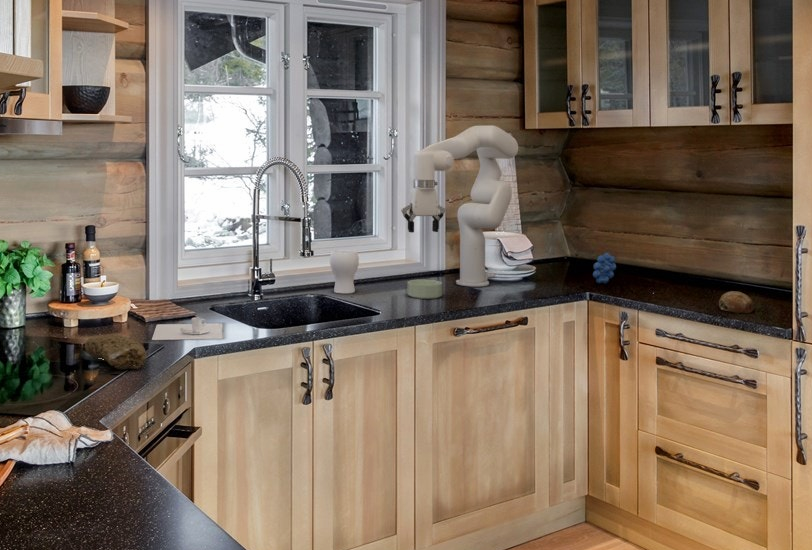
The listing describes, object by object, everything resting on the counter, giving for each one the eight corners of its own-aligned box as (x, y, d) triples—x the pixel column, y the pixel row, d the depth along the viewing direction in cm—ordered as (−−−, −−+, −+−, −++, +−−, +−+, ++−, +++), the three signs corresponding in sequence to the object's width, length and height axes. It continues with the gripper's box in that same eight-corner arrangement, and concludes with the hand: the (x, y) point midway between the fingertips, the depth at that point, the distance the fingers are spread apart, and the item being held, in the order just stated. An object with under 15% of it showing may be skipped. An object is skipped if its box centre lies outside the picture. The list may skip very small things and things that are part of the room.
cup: (358, 289, 316) (358, 249, 316) (358, 294, 306) (358, 253, 306) (330, 289, 317) (330, 249, 317) (329, 294, 307) (329, 253, 307)
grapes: (606, 280, 333) (606, 250, 333) (620, 283, 327) (620, 252, 327) (584, 283, 328) (585, 252, 328) (598, 285, 322) (598, 254, 322)
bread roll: (716, 318, 280) (708, 297, 278) (737, 303, 283) (729, 282, 281) (741, 324, 270) (734, 303, 269) (763, 309, 273) (755, 287, 272)
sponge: (152, 373, 209) (132, 339, 226) (148, 345, 207) (128, 313, 224) (100, 388, 204) (83, 353, 222) (95, 360, 202) (78, 326, 219)
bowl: (428, 292, 311) (428, 278, 311) (449, 297, 300) (449, 283, 300) (400, 294, 305) (400, 281, 305) (421, 300, 294) (421, 286, 294)
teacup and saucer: (179, 335, 243) (179, 321, 243) (181, 329, 251) (181, 315, 251) (210, 335, 243) (210, 321, 243) (210, 329, 251) (210, 315, 251)
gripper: (440, 184, 312) (439, 230, 312) (397, 184, 306) (397, 231, 307) (450, 185, 304) (449, 232, 305) (406, 185, 299) (406, 233, 299)
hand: (423, 231), depth 306 cm, fingers open, 9 cm apart
